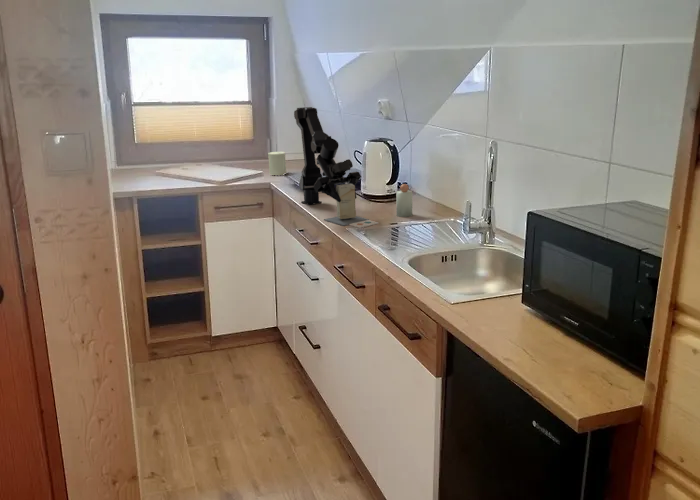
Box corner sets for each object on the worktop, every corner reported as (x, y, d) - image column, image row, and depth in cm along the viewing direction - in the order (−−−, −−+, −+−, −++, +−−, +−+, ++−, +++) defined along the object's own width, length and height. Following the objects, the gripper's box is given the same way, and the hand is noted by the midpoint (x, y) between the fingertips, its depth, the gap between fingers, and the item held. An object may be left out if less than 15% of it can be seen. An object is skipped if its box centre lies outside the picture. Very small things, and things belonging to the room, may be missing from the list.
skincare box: (340, 219, 229) (338, 187, 226) (336, 216, 233) (335, 184, 230) (356, 217, 231) (355, 185, 227) (352, 214, 235) (351, 182, 231)
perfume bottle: (393, 215, 238) (393, 183, 235) (404, 212, 242) (404, 181, 238) (404, 217, 234) (404, 186, 230) (415, 215, 237) (415, 183, 234)
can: (276, 176, 326) (274, 153, 323) (265, 174, 333) (264, 152, 330) (290, 174, 332) (288, 151, 329) (279, 172, 339) (278, 150, 336)
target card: (349, 224, 226) (349, 223, 226) (368, 220, 231) (368, 219, 231) (359, 227, 221) (359, 226, 221) (378, 223, 226) (378, 222, 226)
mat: (323, 220, 233) (323, 219, 233) (349, 215, 240) (349, 214, 240) (343, 226, 224) (343, 225, 224) (369, 220, 231) (369, 219, 231)
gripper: (317, 155, 223) (336, 190, 218) (357, 150, 234) (377, 183, 229) (305, 174, 231) (324, 208, 226) (345, 168, 242) (363, 200, 237)
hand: (347, 200), depth 229 cm, fingers closed on skincare box, 7 cm apart
